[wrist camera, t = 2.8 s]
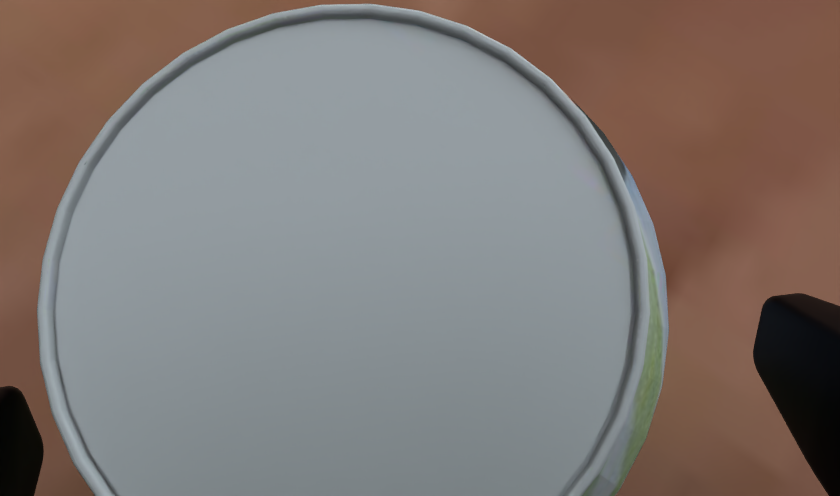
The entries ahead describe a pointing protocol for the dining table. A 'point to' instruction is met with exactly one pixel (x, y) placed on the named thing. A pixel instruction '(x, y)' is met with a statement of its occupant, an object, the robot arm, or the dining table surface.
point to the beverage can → (352, 274)
